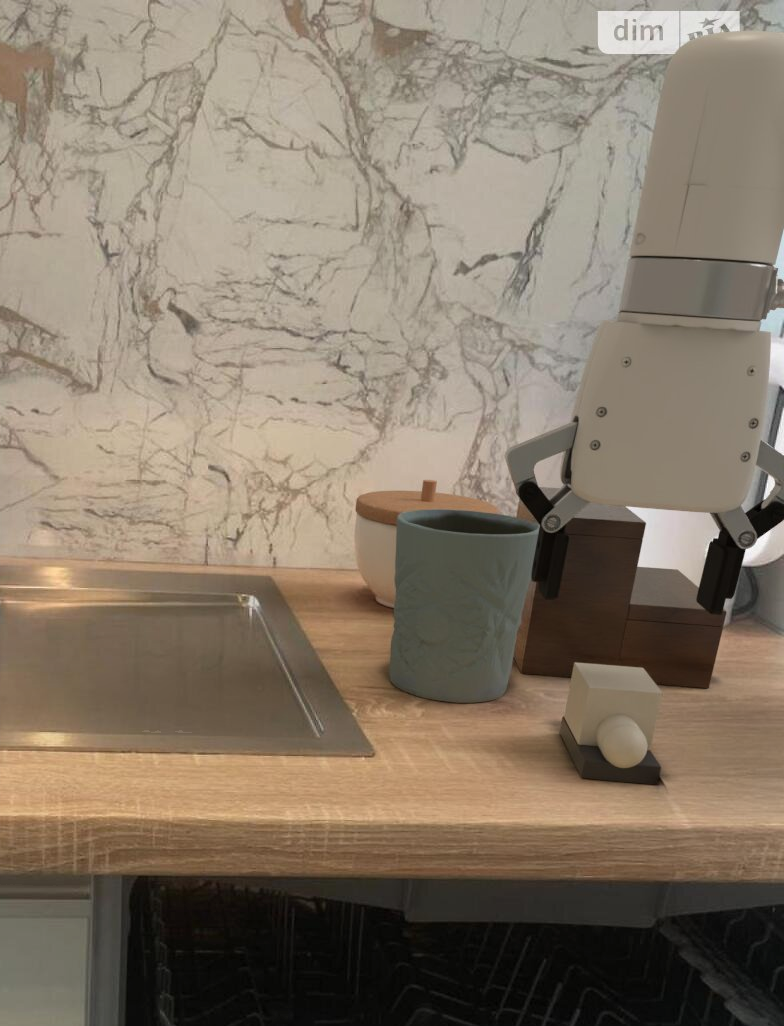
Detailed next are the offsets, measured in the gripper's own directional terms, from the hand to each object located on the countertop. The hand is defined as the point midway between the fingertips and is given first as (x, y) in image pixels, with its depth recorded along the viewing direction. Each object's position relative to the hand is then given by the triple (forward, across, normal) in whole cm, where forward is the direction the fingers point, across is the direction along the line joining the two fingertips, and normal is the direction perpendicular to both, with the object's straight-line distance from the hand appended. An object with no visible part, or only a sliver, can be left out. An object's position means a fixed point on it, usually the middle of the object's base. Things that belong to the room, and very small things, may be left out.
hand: (627, 601), depth 73 cm
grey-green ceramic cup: (+10, +8, -12) cm, 18 cm away
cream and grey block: (+10, 0, +1) cm, 10 cm away
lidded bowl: (+10, +10, -36) cm, 39 cm away
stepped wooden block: (+10, -4, -23) cm, 25 cm away
